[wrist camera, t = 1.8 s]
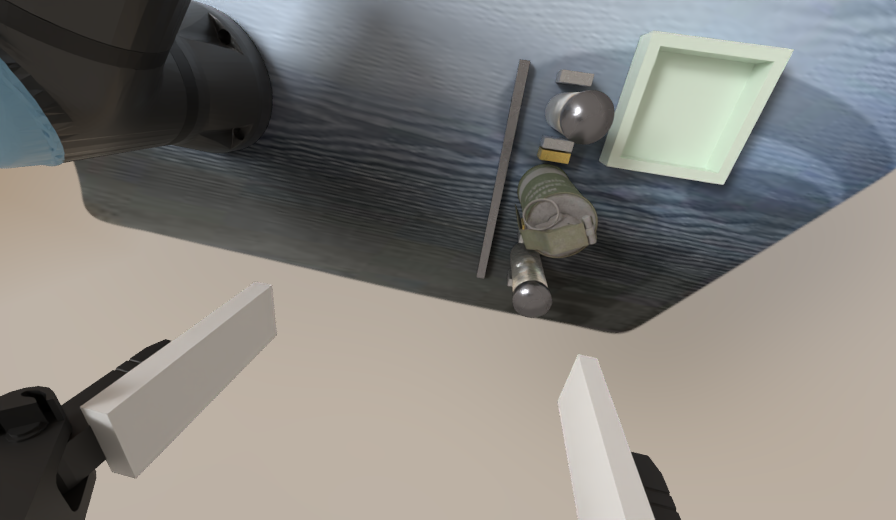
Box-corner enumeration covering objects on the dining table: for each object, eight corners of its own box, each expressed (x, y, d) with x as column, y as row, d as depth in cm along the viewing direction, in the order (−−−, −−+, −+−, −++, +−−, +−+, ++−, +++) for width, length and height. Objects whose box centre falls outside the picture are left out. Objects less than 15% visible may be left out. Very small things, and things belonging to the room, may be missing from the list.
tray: (598, 160, 37) (606, 166, 34) (640, 36, 31) (653, 30, 29) (706, 178, 36) (723, 184, 33) (768, 53, 31) (793, 49, 28)
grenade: (562, 155, 37) (598, 189, 24) (575, 204, 39) (615, 261, 26) (507, 175, 39) (512, 218, 25) (522, 221, 41) (534, 283, 28)
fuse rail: (477, 273, 45) (471, 323, 35) (519, 60, 34) (528, 46, 24) (531, 283, 45) (540, 336, 35) (593, 70, 33) (633, 61, 23)
